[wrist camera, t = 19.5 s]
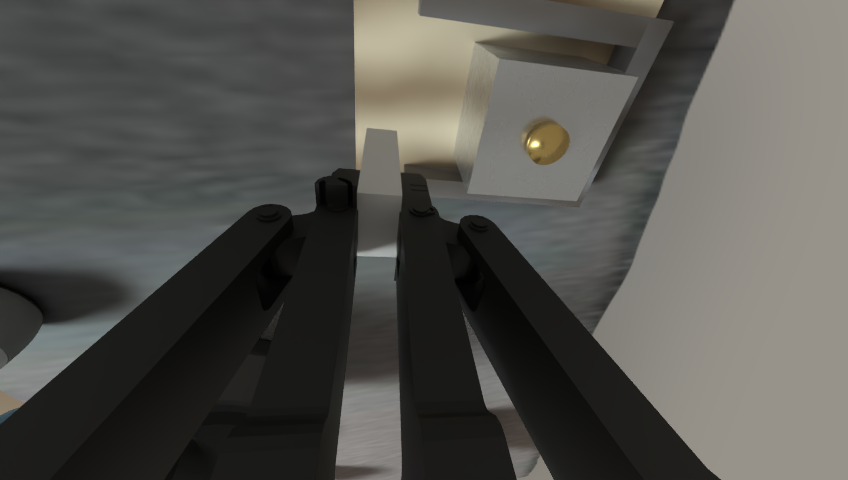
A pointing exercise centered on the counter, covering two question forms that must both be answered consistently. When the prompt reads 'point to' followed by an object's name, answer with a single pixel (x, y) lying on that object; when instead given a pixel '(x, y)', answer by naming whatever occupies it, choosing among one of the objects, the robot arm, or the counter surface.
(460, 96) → the board
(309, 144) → the counter surface
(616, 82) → the lock block
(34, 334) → the smart speaker
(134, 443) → the robot arm
